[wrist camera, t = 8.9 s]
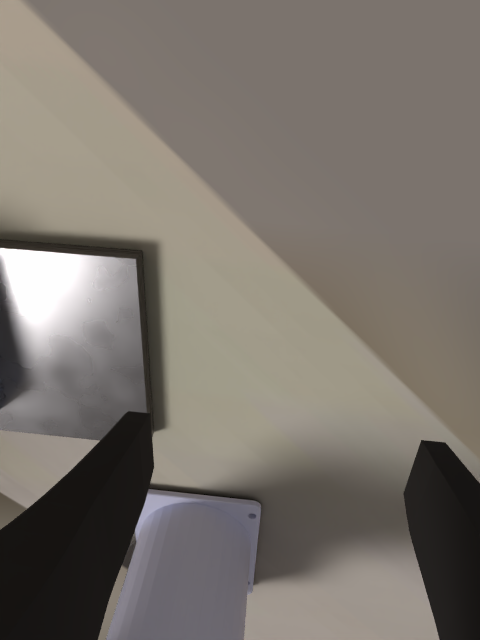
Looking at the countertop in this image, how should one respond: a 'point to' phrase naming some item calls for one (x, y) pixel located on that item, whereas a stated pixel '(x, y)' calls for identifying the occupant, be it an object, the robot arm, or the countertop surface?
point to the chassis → (71, 338)
